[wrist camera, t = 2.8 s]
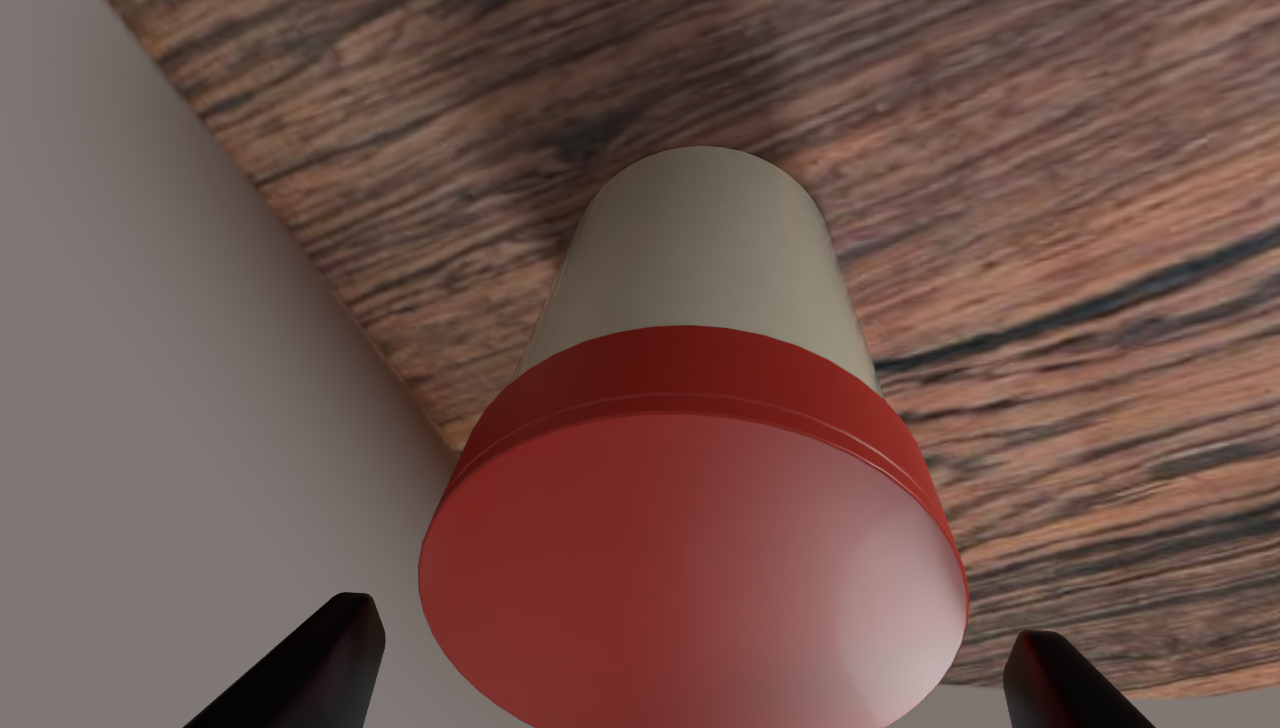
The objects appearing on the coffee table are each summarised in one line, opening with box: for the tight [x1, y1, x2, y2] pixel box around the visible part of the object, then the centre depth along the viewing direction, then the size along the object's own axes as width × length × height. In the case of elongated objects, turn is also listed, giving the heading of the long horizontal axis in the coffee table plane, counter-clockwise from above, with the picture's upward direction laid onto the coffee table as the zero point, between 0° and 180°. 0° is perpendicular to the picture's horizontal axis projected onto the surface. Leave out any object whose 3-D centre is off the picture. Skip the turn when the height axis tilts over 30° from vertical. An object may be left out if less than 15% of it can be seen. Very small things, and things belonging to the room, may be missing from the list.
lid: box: [418, 325, 969, 728], centre depth 10 cm, size 7×7×2 cm
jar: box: [510, 146, 886, 401], centre depth 13 cm, size 6×6×10 cm
